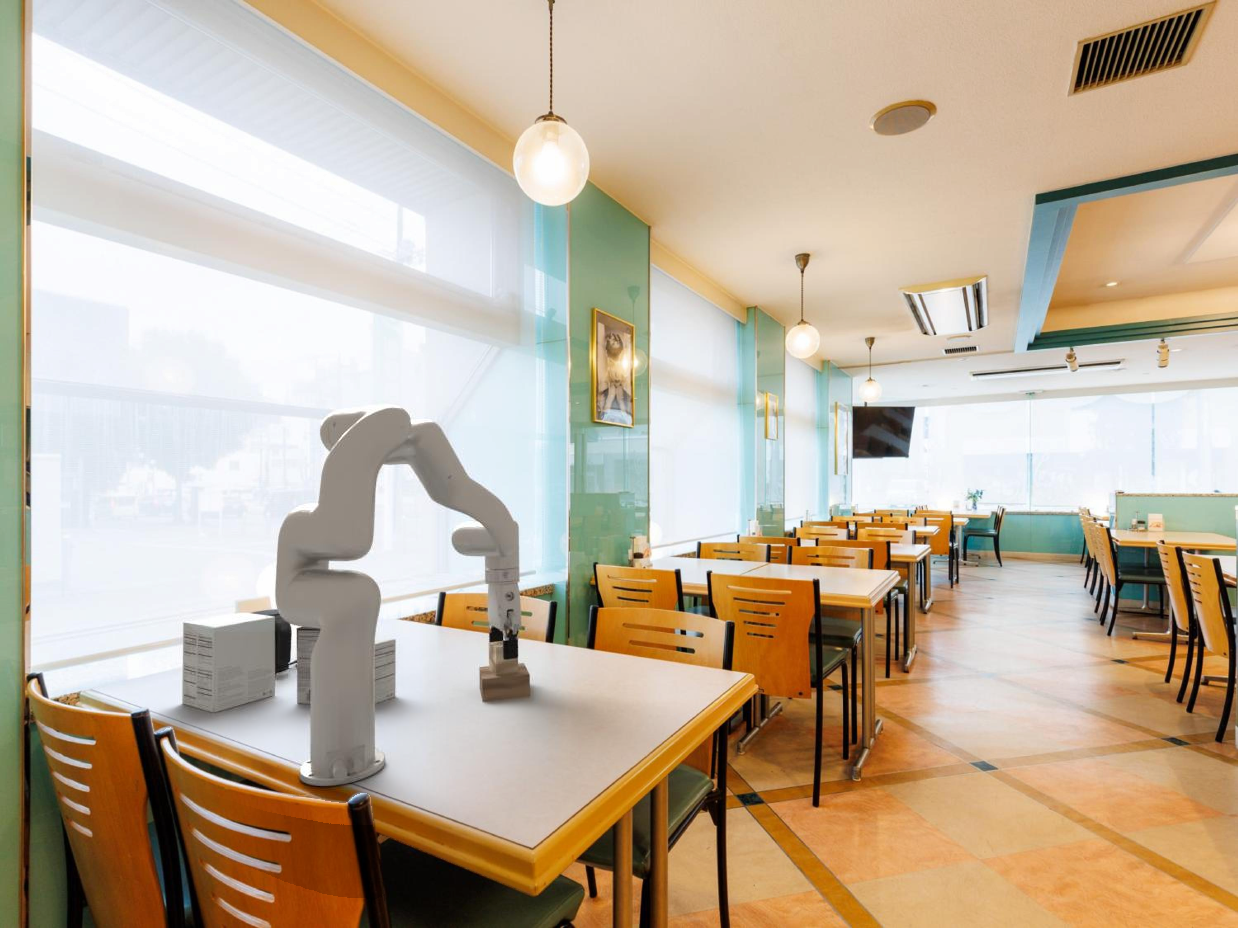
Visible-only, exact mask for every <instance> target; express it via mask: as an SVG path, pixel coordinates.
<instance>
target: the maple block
mask: <svg viewBox="0 0 1238 928" xmlns="http://www.w3.org/2000/svg"><path fill="white" fill-rule="evenodd" d="M518 664H519V657H518V658H515V659H508V660H505V659H503V641H499V642H491V643H489V642H488V666H489V671H491V672H492V673H493V674H495V675H496V676H497V675H503V674H509V673H515V672H518Z"/></svg>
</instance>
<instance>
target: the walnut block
mask: <svg viewBox="0 0 1238 928" xmlns="http://www.w3.org/2000/svg"><path fill="white" fill-rule="evenodd" d="M478 670H479V677H478V678H479V691H480V695H481V697H480V698H481V700H482V702H483V703H484V702H492V701H493V702H494V701H501V700H511V699H519V698H520V699H521V698H530V697H531V679H530V678H531V675H530V672H529V670H528V669H527V667H526V665H525V663H524V662H518V672H515V673H509V674H503V675H497V676H496V675H495V674H493V673H492V672H491V671H489V665H488V666H487V665H486V666H479V668H478Z"/></svg>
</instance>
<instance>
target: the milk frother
mask: <svg viewBox="0 0 1238 928" xmlns="http://www.w3.org/2000/svg"><path fill="white" fill-rule="evenodd" d="M250 613H251V614H259V615H266V616H273V617H275V673H278V672H281V671H284V670H287V669H288V668H290V666H292V665H295V664H297V659H296V660H294V661H292V662H291V655H292V637H293V636H292V634H293V631H292V624H290V623H288V622H286V621H285V620H284V619H283V618H282V617H281V616H280V614H279V612H278V610H277V608H275V609H273V608H272V609H265V610H259V611H253V612H250Z"/></svg>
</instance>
